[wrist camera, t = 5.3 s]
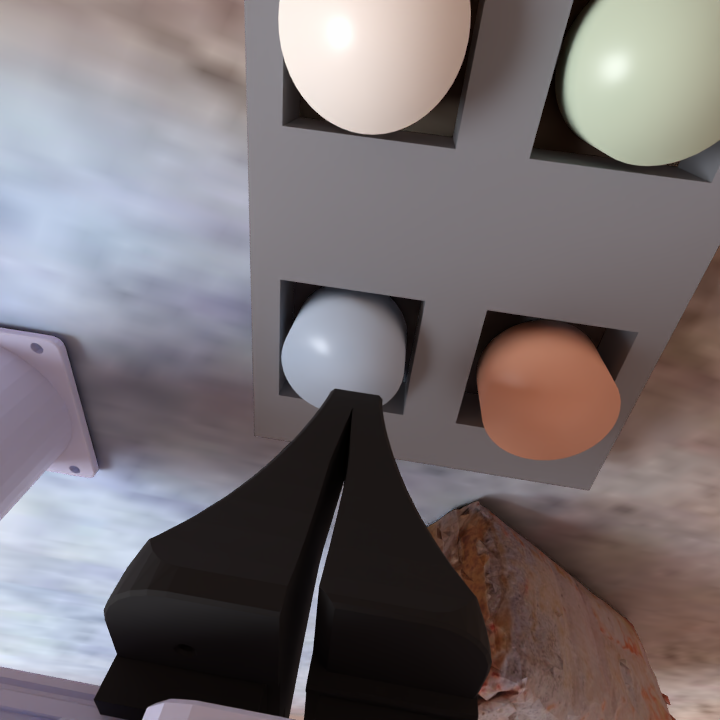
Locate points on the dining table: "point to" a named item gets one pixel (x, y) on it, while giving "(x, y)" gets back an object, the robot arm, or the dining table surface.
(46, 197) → the dining table surface
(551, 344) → the terracotta button
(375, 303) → the blue button
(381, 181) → the button panel
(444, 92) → the cream button
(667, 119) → the sage button
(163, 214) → the dining table surface
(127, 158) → the dining table surface
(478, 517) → the food item
